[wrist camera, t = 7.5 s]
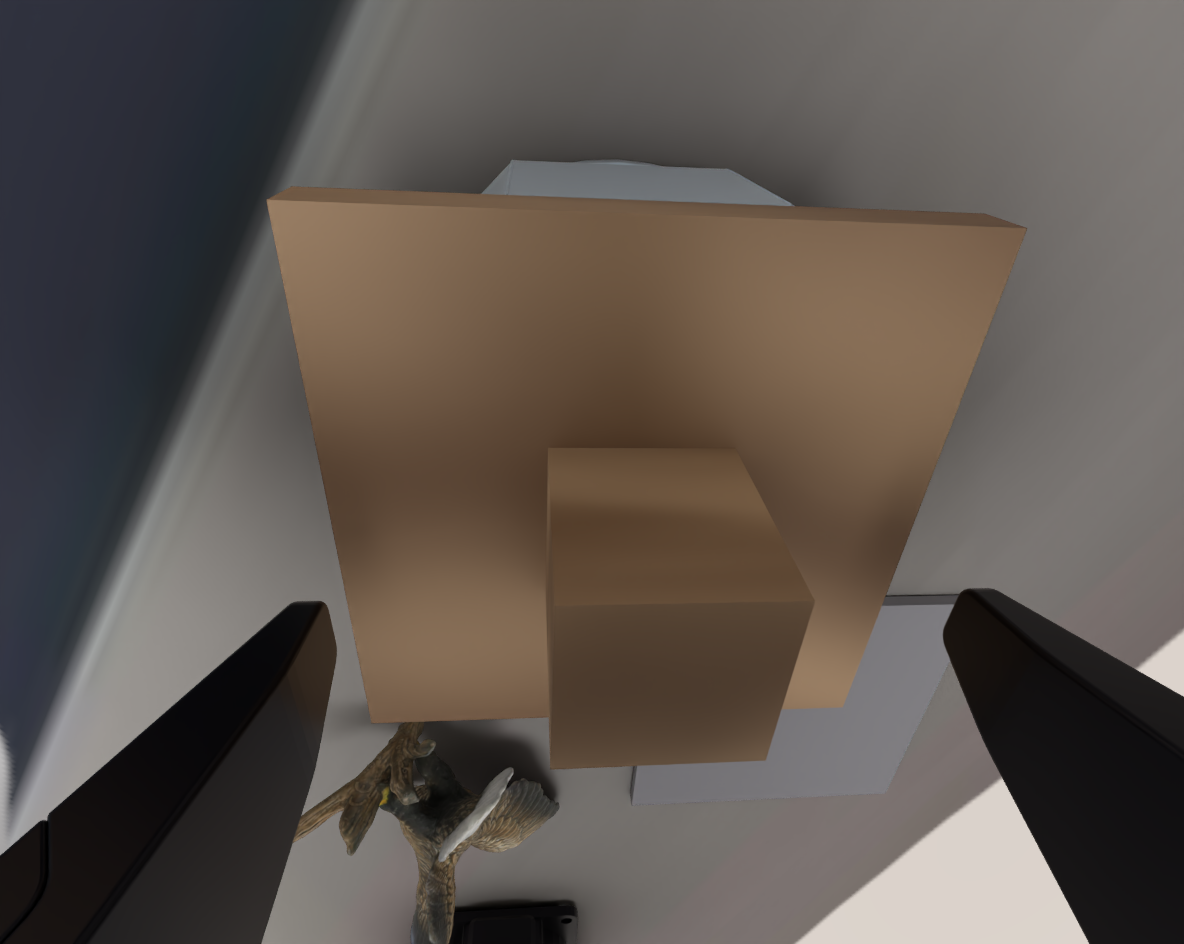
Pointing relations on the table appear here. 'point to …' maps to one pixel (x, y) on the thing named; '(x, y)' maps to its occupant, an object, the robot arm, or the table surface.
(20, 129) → the table surface
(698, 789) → the mat
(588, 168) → the bowl
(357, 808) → the eagle figurine
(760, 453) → the lid
